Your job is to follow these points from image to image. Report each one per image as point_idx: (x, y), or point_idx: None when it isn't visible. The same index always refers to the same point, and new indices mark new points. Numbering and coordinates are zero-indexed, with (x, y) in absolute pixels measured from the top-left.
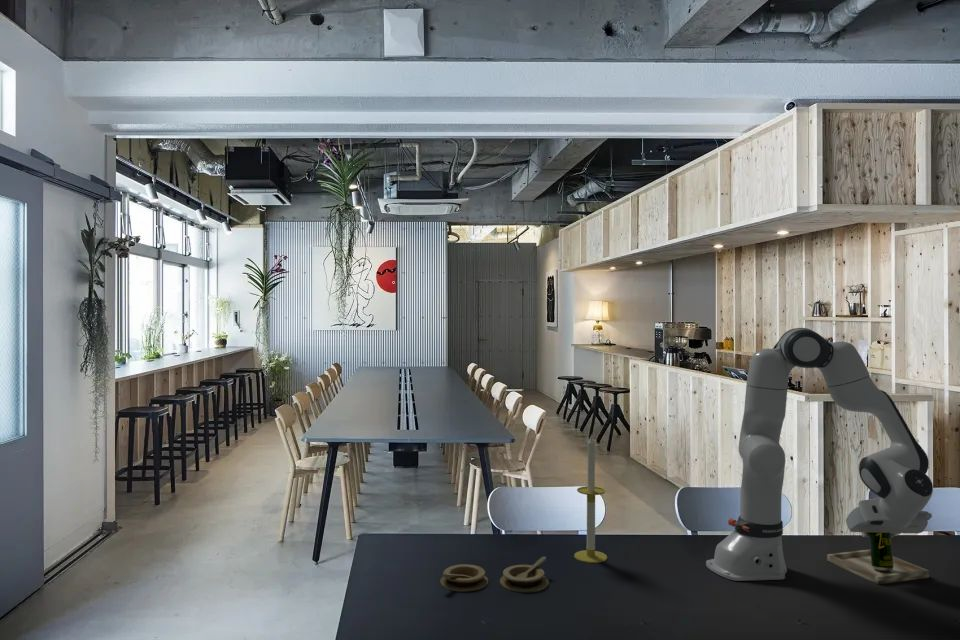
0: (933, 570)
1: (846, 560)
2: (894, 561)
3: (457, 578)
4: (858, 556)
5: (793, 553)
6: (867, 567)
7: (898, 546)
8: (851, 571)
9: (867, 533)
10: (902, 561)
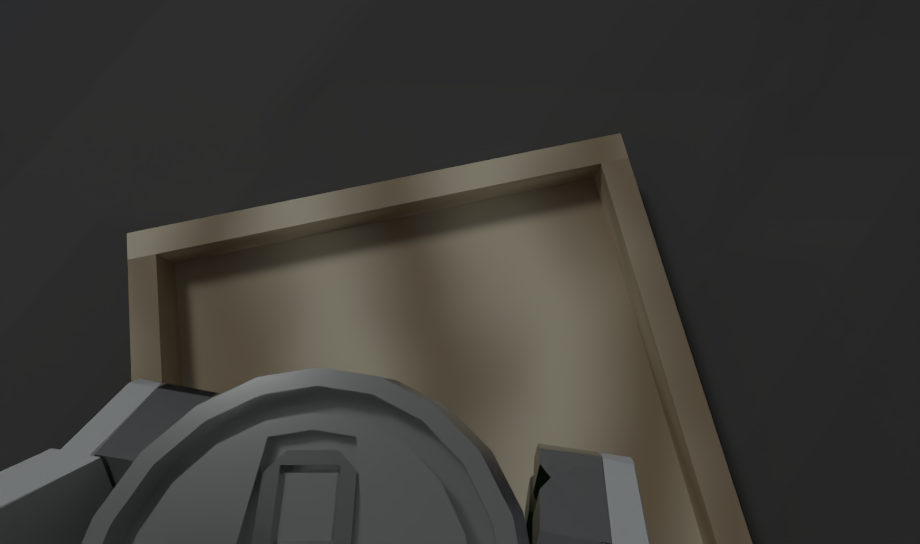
0: (911, 506)
1: (266, 295)
2: (649, 354)
3: None
4: (424, 219)
5: (36, 100)
6: None
7: (902, 4)
8: None
9: None
10: (683, 436)
